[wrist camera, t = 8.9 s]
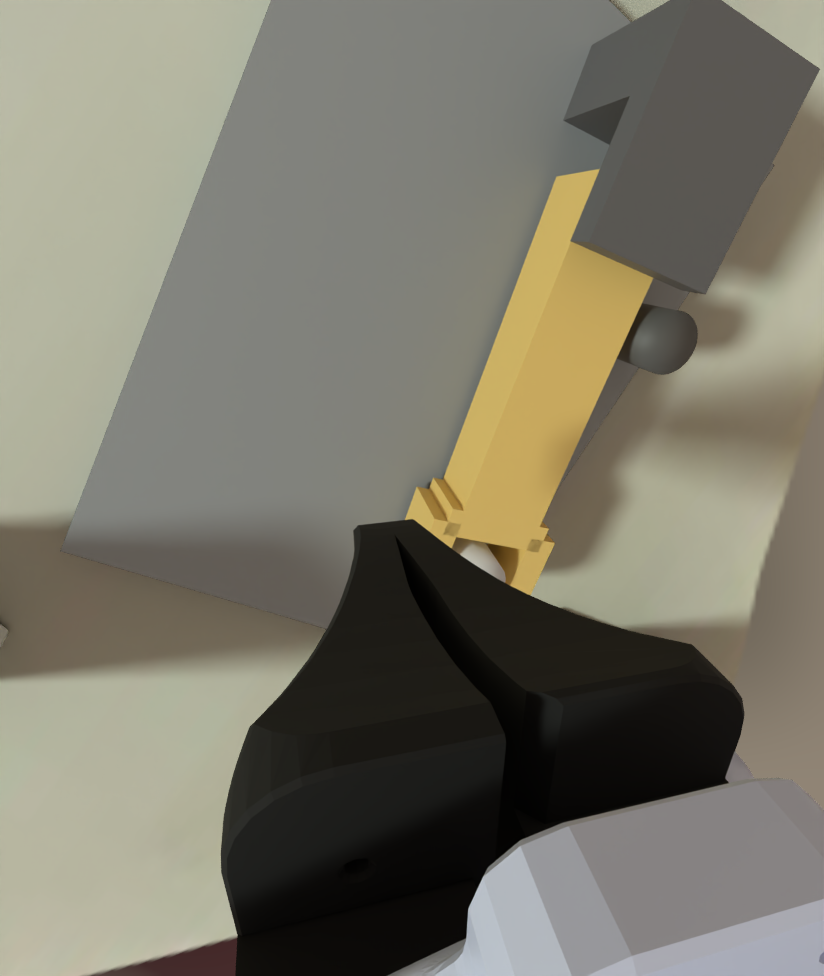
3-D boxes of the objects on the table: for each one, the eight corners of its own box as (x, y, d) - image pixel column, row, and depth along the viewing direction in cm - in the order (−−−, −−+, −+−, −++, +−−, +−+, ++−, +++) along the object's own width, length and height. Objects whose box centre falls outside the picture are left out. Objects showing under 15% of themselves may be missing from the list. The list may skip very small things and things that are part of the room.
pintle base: (752, 168, 20) (910, 148, 15) (435, 647, 26) (473, 746, 21) (358, -213, 14) (406, -465, 9) (69, 536, 20) (2, 638, 15)
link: (487, 597, 24) (510, 637, 21) (382, 581, 22) (395, 622, 20) (653, 221, 18) (708, 220, 16) (531, 165, 17) (572, 155, 14)
